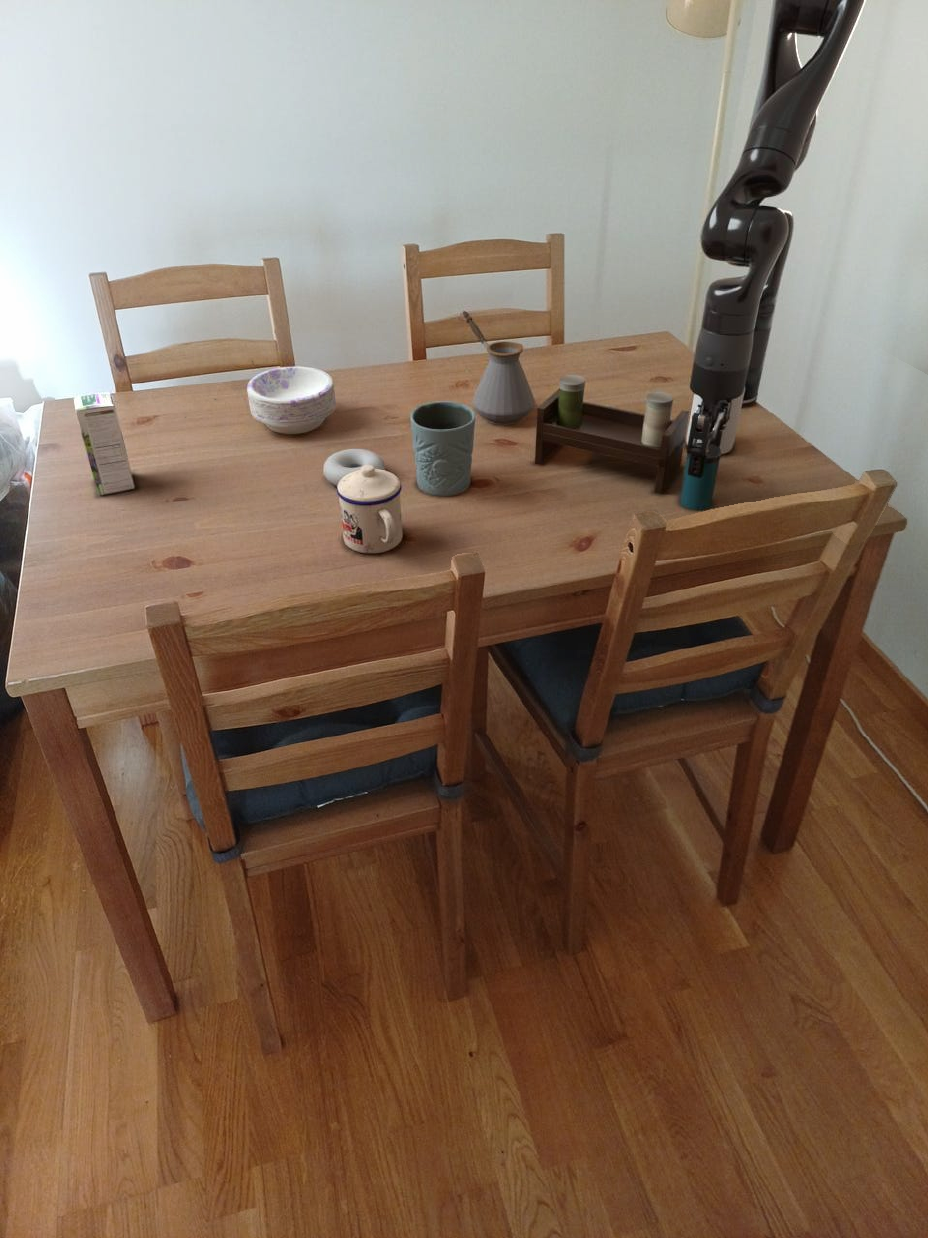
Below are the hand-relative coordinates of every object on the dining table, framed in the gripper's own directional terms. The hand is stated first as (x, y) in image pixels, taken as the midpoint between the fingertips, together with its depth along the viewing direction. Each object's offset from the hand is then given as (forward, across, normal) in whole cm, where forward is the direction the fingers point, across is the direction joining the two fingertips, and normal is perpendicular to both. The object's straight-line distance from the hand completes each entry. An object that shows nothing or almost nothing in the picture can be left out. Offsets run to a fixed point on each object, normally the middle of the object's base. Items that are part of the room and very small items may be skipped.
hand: (703, 463), depth 132 cm
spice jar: (+7, 0, 0) cm, 7 cm away
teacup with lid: (+7, -33, +38) cm, 50 cm away
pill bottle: (+7, +20, +4) cm, 22 cm away
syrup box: (+7, -38, +85) cm, 93 cm away
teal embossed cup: (+7, -13, +38) cm, 40 cm away
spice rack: (+7, +5, +17) cm, 19 cm away
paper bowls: (+7, -6, +73) cm, 73 cm away
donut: (+7, -18, +52) cm, 55 cm away
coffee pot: (+7, +17, +45) cm, 48 cm away
